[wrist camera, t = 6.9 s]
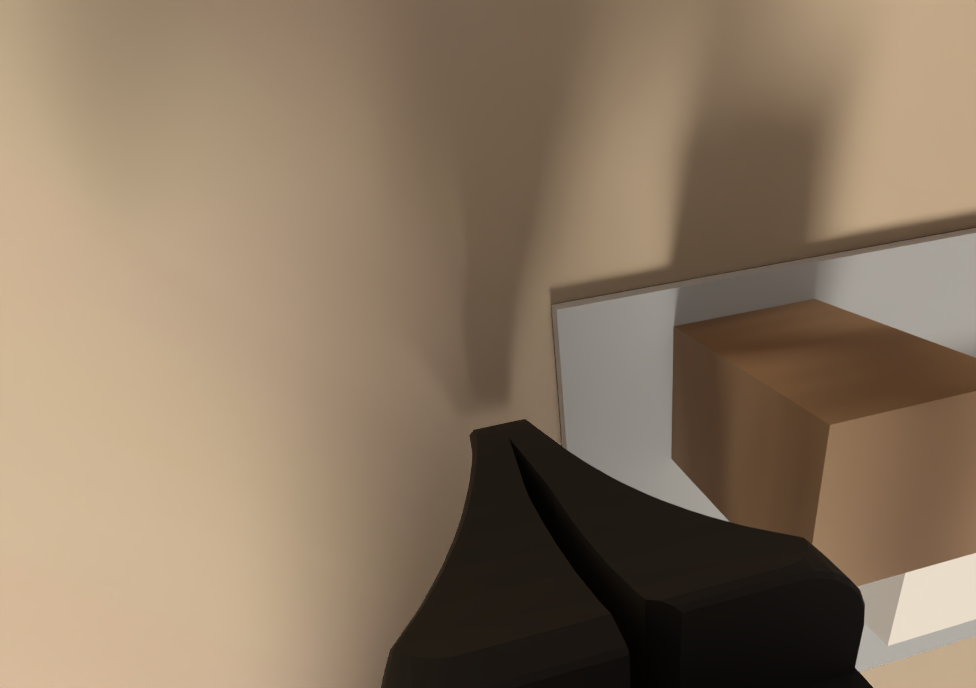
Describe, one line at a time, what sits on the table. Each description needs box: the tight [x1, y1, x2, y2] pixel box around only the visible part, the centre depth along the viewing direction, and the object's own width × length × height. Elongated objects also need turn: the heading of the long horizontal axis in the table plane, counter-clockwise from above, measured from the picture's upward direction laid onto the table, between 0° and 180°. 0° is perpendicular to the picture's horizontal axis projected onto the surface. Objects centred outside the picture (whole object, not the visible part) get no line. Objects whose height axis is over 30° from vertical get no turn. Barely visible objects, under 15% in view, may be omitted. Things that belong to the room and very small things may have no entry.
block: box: [671, 299, 976, 586], centre depth 12 cm, size 4×4×5 cm
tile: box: [857, 553, 976, 646], centre depth 17 cm, size 2×7×7 cm
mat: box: [552, 228, 976, 672], centre depth 17 cm, size 20×17×1 cm
